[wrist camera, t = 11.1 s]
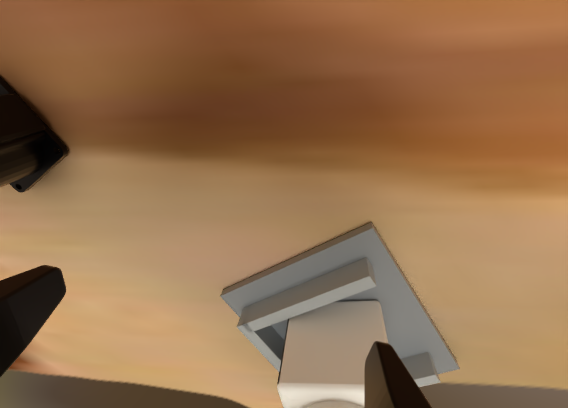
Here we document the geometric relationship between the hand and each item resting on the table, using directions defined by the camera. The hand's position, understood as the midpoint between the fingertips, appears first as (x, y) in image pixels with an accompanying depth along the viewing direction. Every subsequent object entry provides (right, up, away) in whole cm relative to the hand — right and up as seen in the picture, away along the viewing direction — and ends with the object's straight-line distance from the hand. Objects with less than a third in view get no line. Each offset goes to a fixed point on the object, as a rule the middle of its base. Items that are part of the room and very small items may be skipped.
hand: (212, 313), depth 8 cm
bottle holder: (+7, -8, +18) cm, 20 cm away
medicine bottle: (+7, -8, +17) cm, 20 cm away
